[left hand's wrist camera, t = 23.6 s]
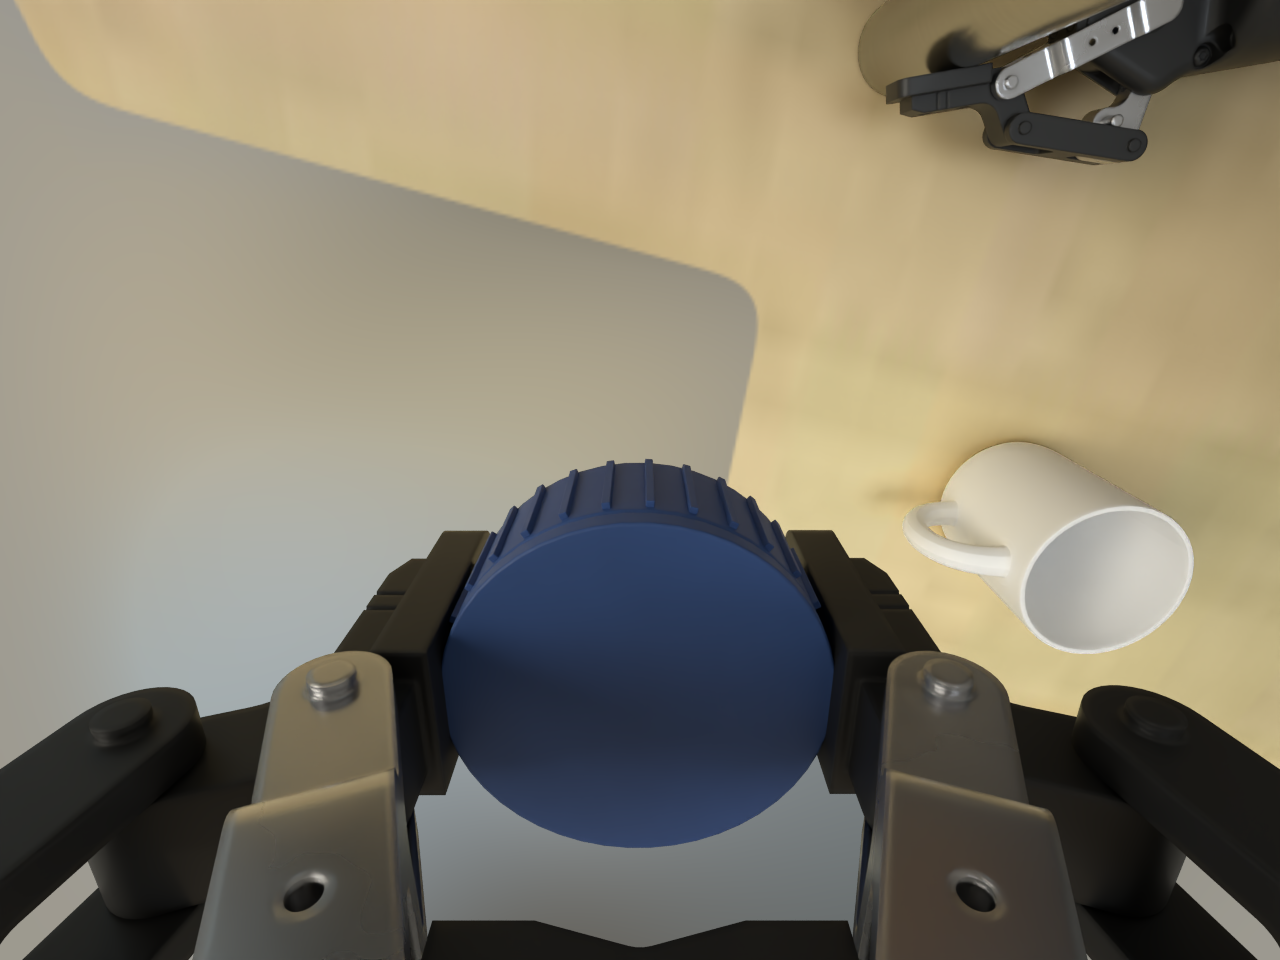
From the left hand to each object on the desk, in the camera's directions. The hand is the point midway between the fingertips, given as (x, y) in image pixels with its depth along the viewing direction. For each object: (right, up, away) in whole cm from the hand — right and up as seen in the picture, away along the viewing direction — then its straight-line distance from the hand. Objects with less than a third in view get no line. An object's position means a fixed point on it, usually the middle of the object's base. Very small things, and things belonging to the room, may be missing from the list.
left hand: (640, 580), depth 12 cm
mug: (+21, +1, +31) cm, 37 cm away
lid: (0, -1, -3) cm, 3 cm away
